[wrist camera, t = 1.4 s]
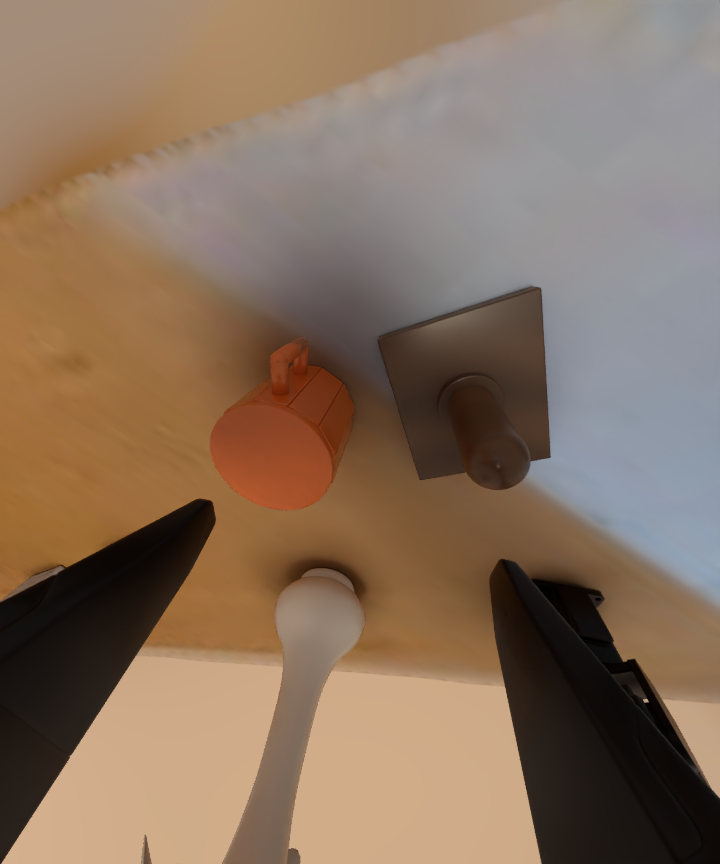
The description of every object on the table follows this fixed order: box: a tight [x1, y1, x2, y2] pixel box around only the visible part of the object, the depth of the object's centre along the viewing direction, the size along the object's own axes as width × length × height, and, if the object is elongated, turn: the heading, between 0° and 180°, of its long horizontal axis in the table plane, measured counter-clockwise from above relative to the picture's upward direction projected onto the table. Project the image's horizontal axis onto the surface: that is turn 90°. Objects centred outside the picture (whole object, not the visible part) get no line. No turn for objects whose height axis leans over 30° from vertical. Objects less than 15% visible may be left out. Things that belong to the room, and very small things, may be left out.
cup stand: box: [378, 287, 551, 490], centre depth 16 cm, size 11×9×9 cm
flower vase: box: [141, 568, 365, 864], centre depth 22 cm, size 13×18×25 cm
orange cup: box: [210, 337, 354, 510], centre depth 18 cm, size 9×7×7 cm
